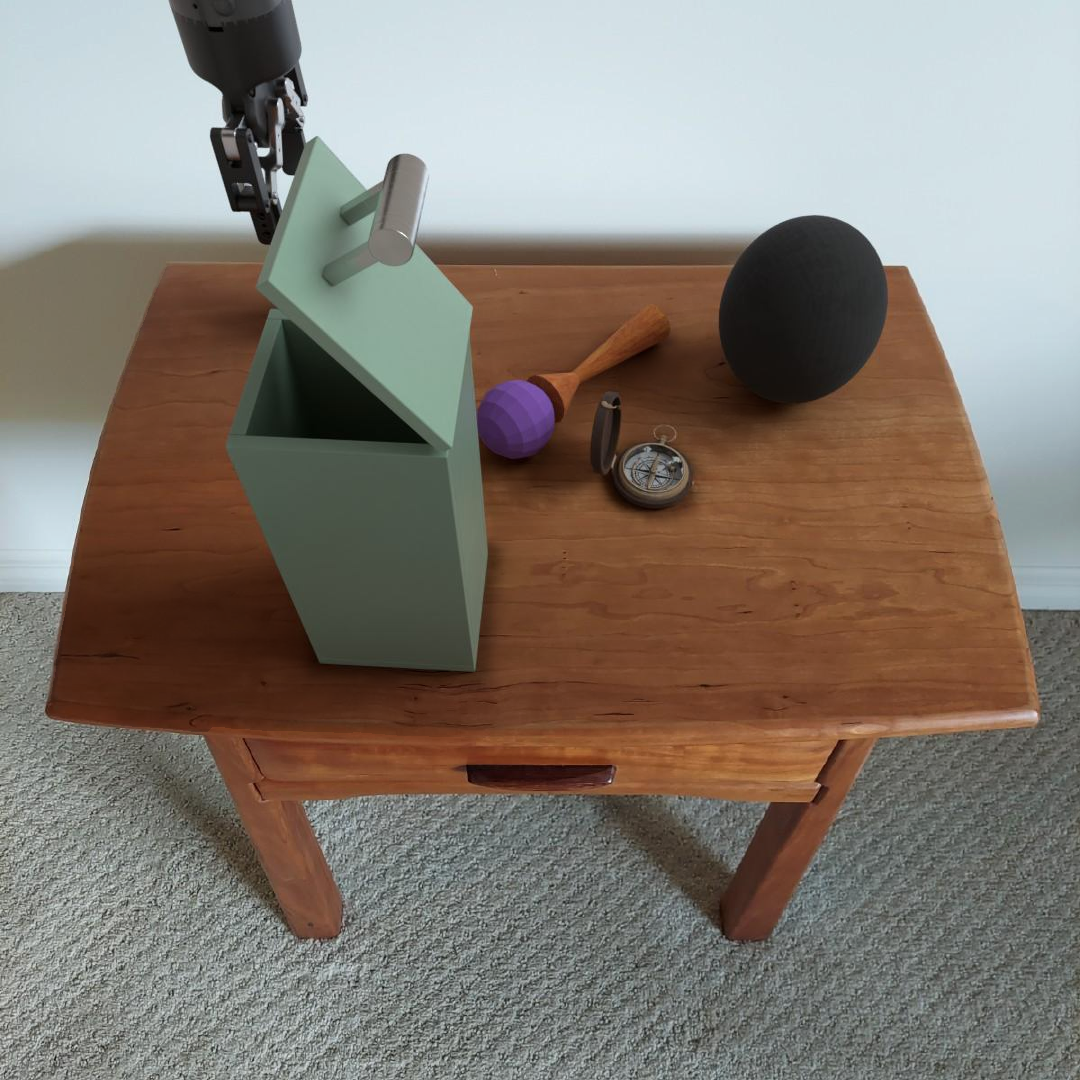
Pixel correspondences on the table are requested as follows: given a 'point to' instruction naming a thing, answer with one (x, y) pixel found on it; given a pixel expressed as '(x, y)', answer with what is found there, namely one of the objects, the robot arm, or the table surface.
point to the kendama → (558, 389)
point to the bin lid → (371, 287)
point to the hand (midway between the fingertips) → (287, 206)
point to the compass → (638, 461)
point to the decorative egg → (803, 309)
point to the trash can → (362, 509)
